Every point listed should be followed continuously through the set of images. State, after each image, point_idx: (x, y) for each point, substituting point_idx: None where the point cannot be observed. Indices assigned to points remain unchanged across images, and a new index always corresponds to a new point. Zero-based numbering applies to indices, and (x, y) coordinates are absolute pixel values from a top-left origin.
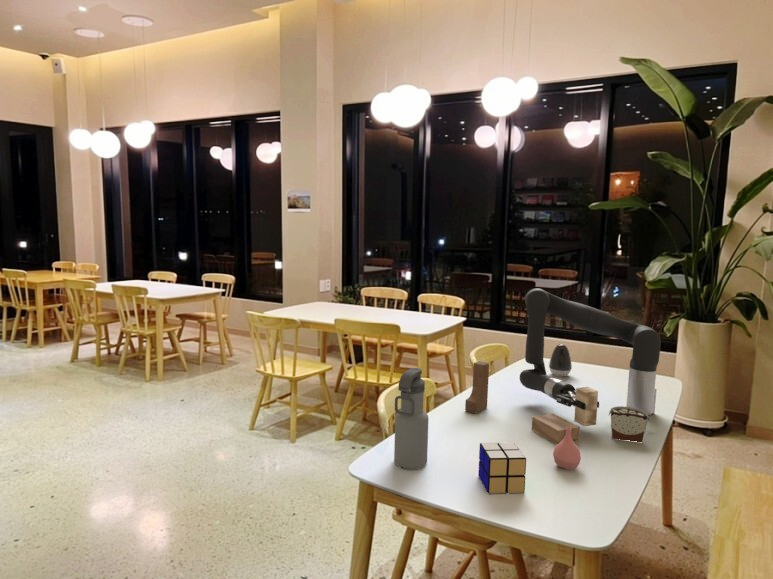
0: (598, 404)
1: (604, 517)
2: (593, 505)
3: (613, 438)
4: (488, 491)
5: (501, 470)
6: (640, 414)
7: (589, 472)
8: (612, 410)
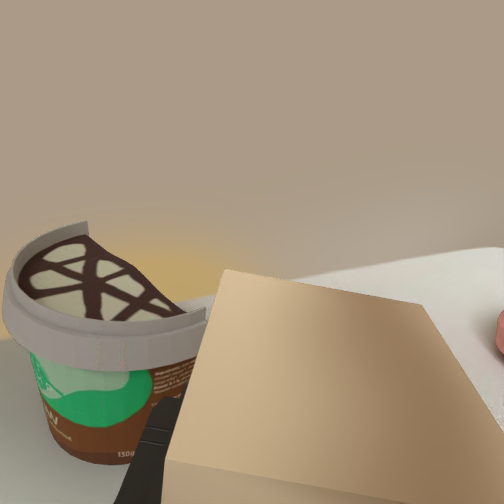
0: None
1: (481, 261)
2: (491, 276)
3: None
4: None
5: None
6: (71, 252)
7: (456, 329)
8: (165, 324)
